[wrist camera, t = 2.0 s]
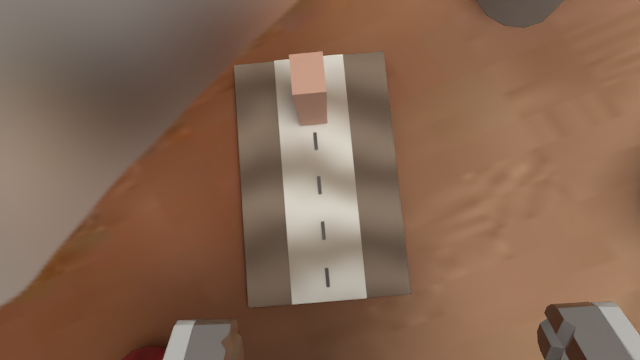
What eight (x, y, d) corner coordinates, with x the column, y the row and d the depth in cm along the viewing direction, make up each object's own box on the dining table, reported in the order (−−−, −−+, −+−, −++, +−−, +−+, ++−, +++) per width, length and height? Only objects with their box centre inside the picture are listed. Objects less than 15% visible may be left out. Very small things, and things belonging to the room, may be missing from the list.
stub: (327, 123, 37) (326, 91, 29) (300, 125, 37) (292, 94, 29) (324, 91, 37) (322, 51, 29) (298, 93, 37) (289, 54, 29)
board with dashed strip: (407, 291, 36) (411, 294, 34) (251, 304, 36) (247, 308, 35) (381, 58, 39) (383, 49, 38) (237, 71, 40) (233, 63, 38)
